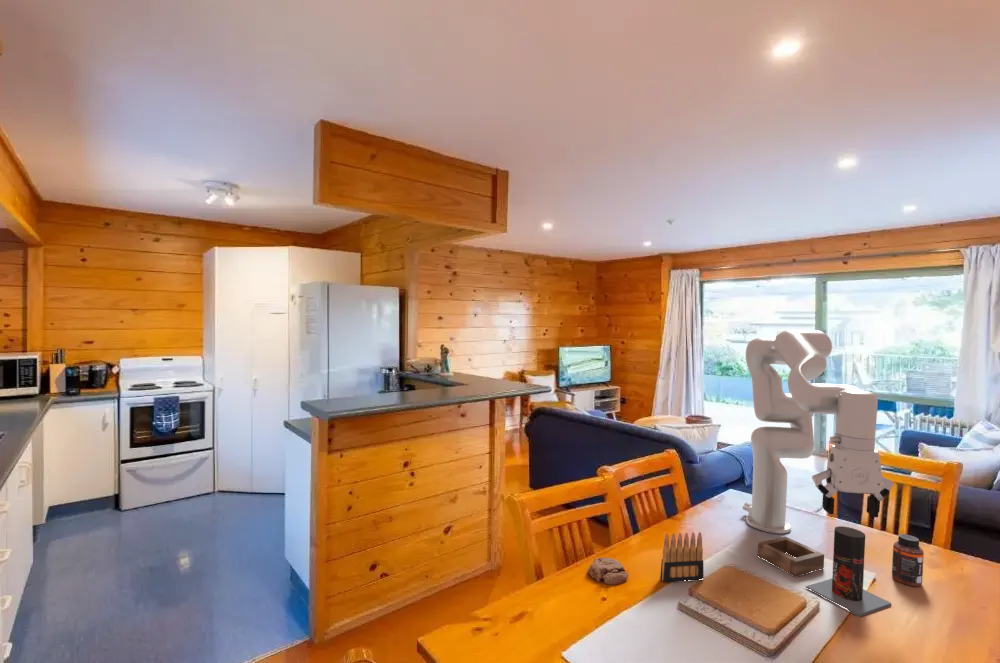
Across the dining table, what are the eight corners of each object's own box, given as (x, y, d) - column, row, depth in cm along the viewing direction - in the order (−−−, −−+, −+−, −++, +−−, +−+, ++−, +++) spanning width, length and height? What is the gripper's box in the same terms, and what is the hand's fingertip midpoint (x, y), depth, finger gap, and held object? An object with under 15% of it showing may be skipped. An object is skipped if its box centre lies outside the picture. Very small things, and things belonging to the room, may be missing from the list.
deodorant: (868, 599, 113) (871, 536, 112) (847, 602, 112) (850, 538, 111) (846, 585, 118) (848, 525, 118) (825, 587, 117) (828, 527, 117)
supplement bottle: (928, 589, 119) (930, 544, 119) (900, 586, 120) (902, 541, 120) (912, 576, 125) (914, 533, 125) (886, 573, 126) (888, 530, 126)
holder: (757, 556, 133) (757, 542, 133) (784, 550, 138) (785, 536, 137) (795, 577, 123) (796, 561, 123) (823, 569, 127) (824, 554, 127)
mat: (805, 588, 118) (806, 586, 118) (837, 579, 123) (837, 576, 123) (858, 617, 107) (858, 614, 107) (891, 605, 112) (891, 603, 112)
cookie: (622, 564, 128) (622, 553, 128) (632, 587, 117) (632, 575, 117) (584, 563, 128) (585, 552, 128) (591, 585, 118) (591, 573, 117)
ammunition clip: (663, 583, 119) (665, 535, 119) (660, 579, 121) (661, 531, 120) (703, 580, 121) (705, 533, 120) (699, 576, 122) (701, 530, 122)
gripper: (824, 445, 111) (819, 517, 112) (906, 449, 109) (900, 523, 110) (807, 436, 118) (803, 504, 119) (883, 440, 116) (879, 509, 117)
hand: (850, 513), depth 115 cm, fingers open, 9 cm apart
